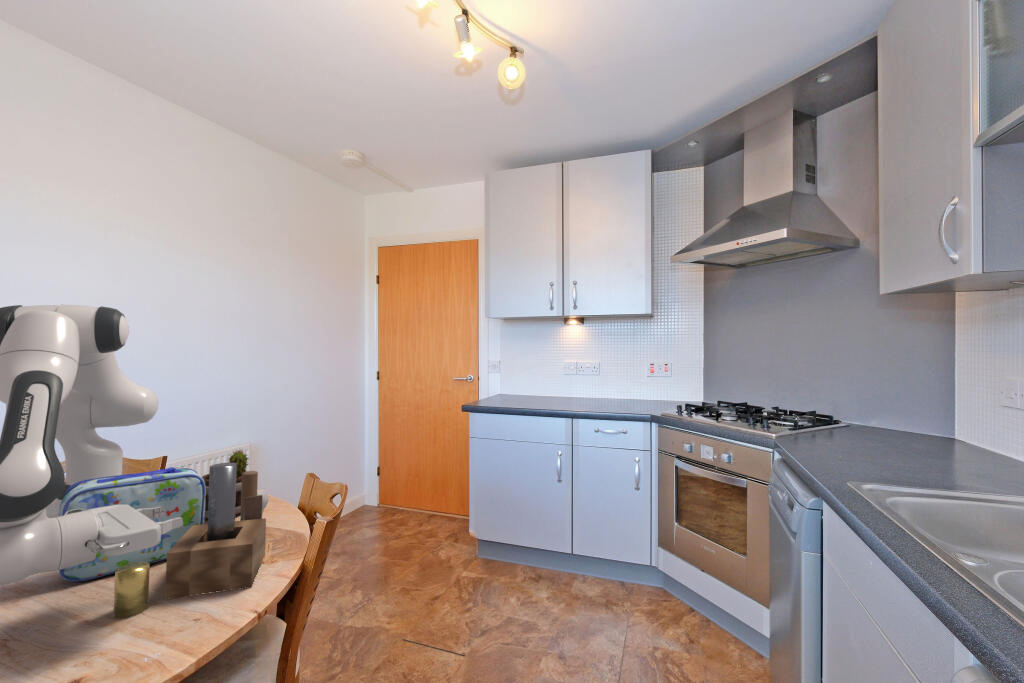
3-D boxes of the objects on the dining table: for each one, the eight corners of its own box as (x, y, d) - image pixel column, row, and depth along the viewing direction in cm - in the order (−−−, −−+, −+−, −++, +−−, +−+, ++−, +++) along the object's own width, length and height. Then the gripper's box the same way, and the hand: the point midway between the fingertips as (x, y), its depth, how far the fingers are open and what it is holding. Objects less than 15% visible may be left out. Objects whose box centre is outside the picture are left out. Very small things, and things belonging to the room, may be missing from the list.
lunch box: (197, 539, 116) (199, 458, 117) (208, 551, 109) (210, 465, 110) (54, 574, 97) (58, 477, 98) (55, 592, 90) (60, 488, 91)
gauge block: (165, 599, 88) (166, 553, 88) (191, 565, 102) (192, 525, 103) (251, 587, 93) (252, 543, 93) (264, 556, 107) (266, 518, 108)
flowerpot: (190, 528, 123) (192, 455, 124) (197, 511, 136) (199, 445, 137) (251, 519, 130) (253, 450, 131) (252, 503, 144) (254, 441, 144)
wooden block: (244, 557, 107) (246, 481, 107) (238, 541, 115) (240, 471, 116) (261, 553, 109) (263, 479, 109) (254, 538, 117) (256, 469, 118)
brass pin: (107, 620, 81) (109, 576, 81) (121, 605, 86) (122, 563, 86) (141, 615, 83) (142, 572, 83) (152, 601, 87) (154, 560, 88)
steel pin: (202, 583, 95) (206, 469, 95) (210, 572, 99) (213, 463, 100) (229, 579, 96) (233, 467, 97) (235, 568, 101) (239, 461, 102)
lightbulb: (249, 525, 126) (250, 486, 126) (271, 525, 126) (272, 486, 126) (237, 534, 120) (238, 493, 120) (261, 534, 120) (262, 492, 120)
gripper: (96, 534, 73) (193, 510, 85) (66, 508, 85) (155, 490, 96) (94, 573, 73) (192, 544, 84) (64, 541, 85) (154, 520, 96)
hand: (172, 515), depth 91 cm, fingers open, 8 cm apart
